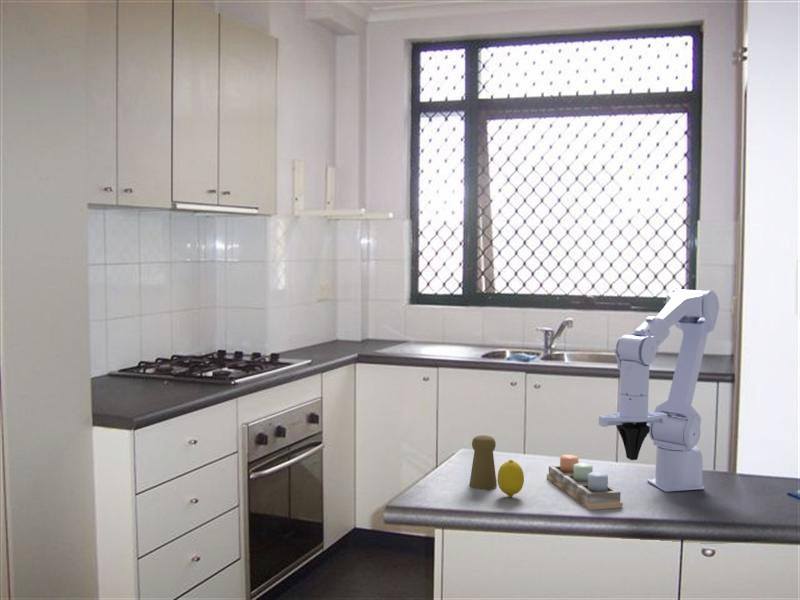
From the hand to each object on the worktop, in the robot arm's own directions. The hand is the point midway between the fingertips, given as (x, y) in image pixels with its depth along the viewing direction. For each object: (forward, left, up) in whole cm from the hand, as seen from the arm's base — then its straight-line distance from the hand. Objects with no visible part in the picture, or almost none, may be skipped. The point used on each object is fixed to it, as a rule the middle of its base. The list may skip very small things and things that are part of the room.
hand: (631, 458), depth 172 cm
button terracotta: (+7, -16, -7) cm, 18 cm away
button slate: (+7, -2, -7) cm, 10 cm away
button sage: (+6, -9, -7) cm, 13 cm away
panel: (+7, -9, -9) cm, 15 cm away
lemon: (+23, -9, -10) cm, 26 cm away
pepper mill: (+26, -18, -10) cm, 33 cm away
